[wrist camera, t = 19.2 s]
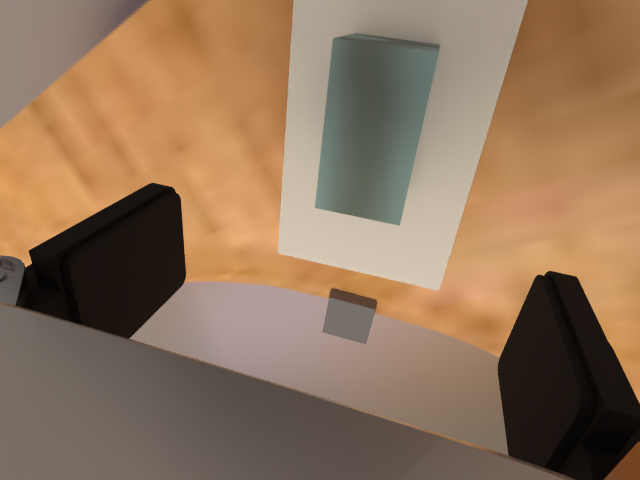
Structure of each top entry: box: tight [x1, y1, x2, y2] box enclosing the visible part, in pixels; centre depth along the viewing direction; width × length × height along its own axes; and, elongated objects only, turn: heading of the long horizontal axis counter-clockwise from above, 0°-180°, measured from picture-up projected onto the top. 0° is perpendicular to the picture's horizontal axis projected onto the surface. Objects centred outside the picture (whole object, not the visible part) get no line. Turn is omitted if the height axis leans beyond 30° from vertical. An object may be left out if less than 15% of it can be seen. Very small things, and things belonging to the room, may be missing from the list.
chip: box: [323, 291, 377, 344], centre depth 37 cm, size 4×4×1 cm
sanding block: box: [315, 33, 440, 226], centre depth 24 cm, size 5×9×6 cm, turn 173°
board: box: [278, 0, 528, 291], centre depth 28 cm, size 13×24×2 cm, turn 173°
